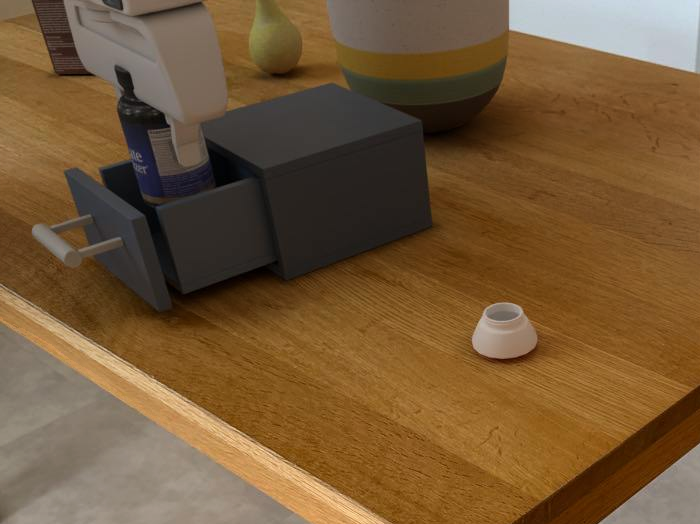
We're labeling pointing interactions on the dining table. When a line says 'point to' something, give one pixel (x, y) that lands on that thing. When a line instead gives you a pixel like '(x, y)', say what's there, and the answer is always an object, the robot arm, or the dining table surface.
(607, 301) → the dining table surface
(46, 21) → the box
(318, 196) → the cabinet
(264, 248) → the drawer
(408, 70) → the planter
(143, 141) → the pill bottle
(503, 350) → the lidless jar
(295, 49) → the fruit
